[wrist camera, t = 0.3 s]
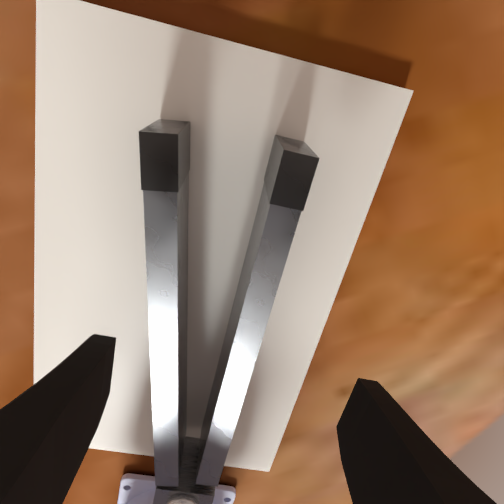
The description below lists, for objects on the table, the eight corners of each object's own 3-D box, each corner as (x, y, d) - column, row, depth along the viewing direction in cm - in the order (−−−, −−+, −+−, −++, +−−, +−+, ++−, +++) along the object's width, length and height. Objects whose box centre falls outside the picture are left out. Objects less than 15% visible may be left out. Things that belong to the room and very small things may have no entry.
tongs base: (211, 463, 25) (207, 527, 22) (162, 456, 25) (149, 521, 21) (304, 141, 17) (321, 160, 13) (230, 123, 16) (228, 137, 13)
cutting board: (268, 458, 27) (269, 471, 26) (40, 427, 25) (33, 440, 24) (404, 89, 17) (413, 90, 16) (48, -7, 15) (36, -12, 14)
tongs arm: (187, 430, 24) (179, 487, 20) (165, 429, 24) (154, 486, 20) (190, 121, 16) (178, 134, 13) (158, 119, 16) (138, 131, 13)
